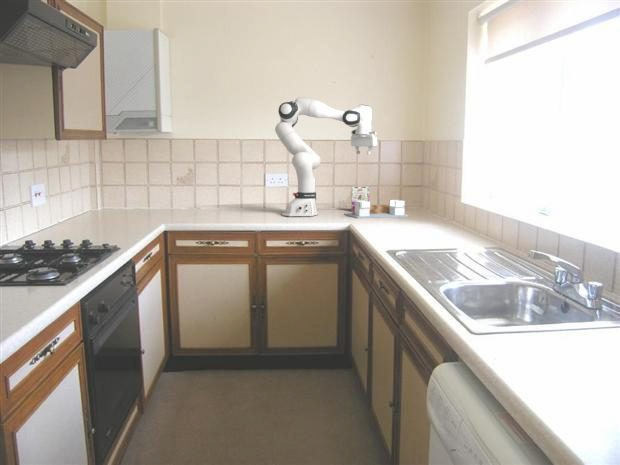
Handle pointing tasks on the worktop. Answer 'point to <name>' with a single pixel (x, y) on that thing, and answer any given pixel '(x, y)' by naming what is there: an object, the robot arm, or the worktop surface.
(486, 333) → the worktop surface
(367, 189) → the candy bar box
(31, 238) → the worktop surface
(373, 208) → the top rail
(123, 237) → the worktop surface
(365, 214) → the grey base with supports
